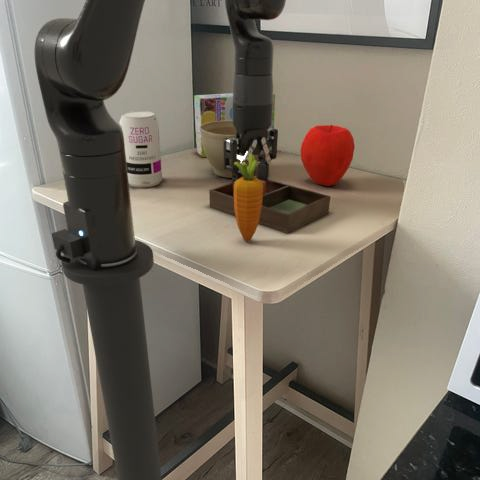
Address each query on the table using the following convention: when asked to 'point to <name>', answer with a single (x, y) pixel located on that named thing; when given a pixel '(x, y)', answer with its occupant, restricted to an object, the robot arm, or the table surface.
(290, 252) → the table surface
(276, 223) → the sorting tray
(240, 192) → the carrot
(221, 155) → the planter bowl
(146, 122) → the supplement can
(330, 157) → the apple
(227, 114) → the snack box
